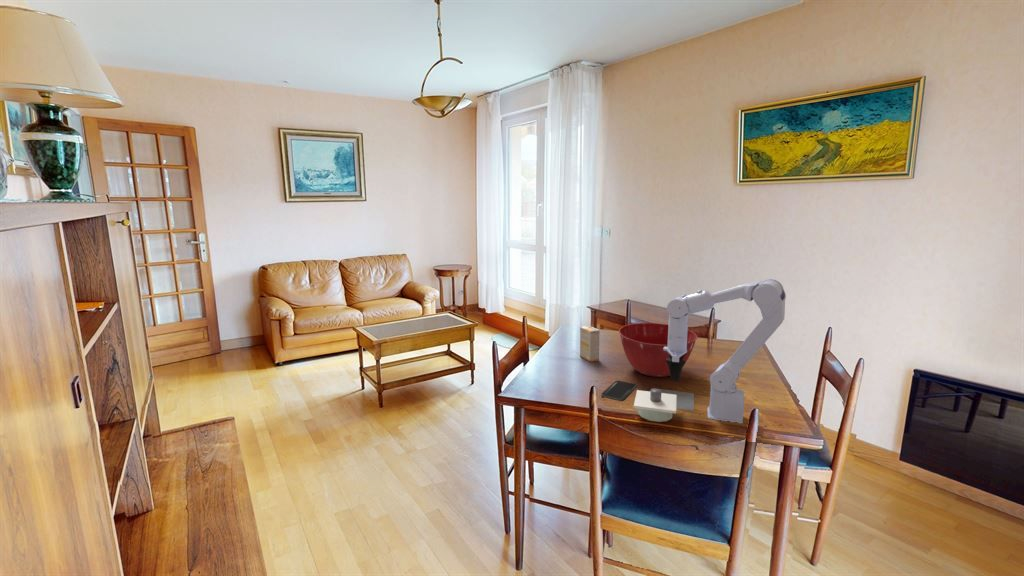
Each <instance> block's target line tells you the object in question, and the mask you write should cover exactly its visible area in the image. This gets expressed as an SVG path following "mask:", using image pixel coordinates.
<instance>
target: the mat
mask: <svg viewBox="0 0 1024 576" xmlns="http://www.w3.org/2000/svg"><path fill="white" fill-rule="evenodd" d="M651 389H657V388H654V387H651V388H650V390H649V392H651ZM658 389H659V390H661V391H662V392H661V393H666V394H675V395H677V396H676V410H684V411H691V412H692V411H693V412H695V411H694V409H695V406H694V405H695V393H694V392H686V391H677V390H671V389H661V388H658Z"/></svg>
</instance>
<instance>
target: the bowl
mask: <svg viewBox="0 0 1024 576" xmlns="http://www.w3.org/2000/svg"><path fill="white" fill-rule="evenodd" d="M637 414H638V415H639V416H640V417H641V418H643V419H645V420H647V421H651V422H657V423H659V422H668V421H670V420H671V419H673V414H674V413H667V412H659V411H652V410H644V409H637Z"/></svg>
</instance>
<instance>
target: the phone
mask: <svg viewBox="0 0 1024 576" xmlns="http://www.w3.org/2000/svg"><path fill="white" fill-rule="evenodd" d="M637 386H638V385H637V384H636V383H632V382H626V381H623V380H615V381H614V382H613V383H612V384H611V385H609V386H608V387H607V388H606V389H605V390H604V391H602V393H601V398H603V399H604V398H607V399H611V400H616V401H619V402H621V401H625V399H626V398H628V396H629V395H630V394H631V393H632V392H633V391H634V390H635V389H636V388H637Z"/></svg>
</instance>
